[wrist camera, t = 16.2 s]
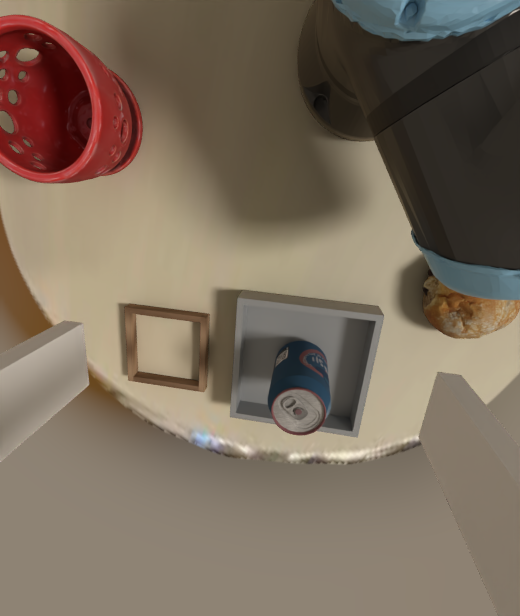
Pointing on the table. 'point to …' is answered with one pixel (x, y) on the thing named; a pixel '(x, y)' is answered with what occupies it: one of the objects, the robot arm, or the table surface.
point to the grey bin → (313, 328)
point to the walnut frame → (161, 379)
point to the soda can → (300, 388)
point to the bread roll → (464, 311)
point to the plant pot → (63, 107)
